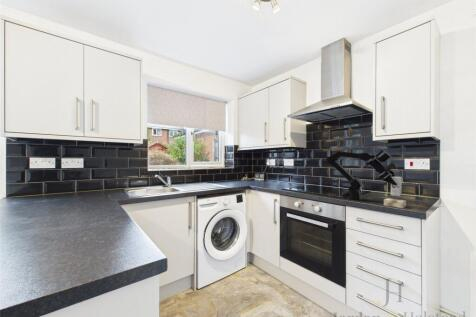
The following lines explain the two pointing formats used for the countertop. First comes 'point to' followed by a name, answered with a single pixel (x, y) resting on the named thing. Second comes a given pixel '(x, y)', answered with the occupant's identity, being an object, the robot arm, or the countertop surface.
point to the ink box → (396, 189)
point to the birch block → (395, 203)
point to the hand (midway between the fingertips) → (397, 184)
